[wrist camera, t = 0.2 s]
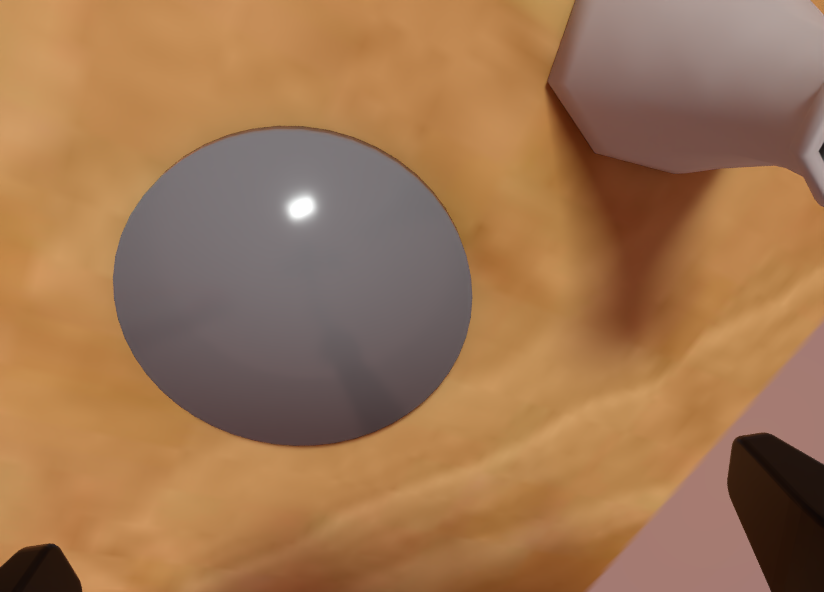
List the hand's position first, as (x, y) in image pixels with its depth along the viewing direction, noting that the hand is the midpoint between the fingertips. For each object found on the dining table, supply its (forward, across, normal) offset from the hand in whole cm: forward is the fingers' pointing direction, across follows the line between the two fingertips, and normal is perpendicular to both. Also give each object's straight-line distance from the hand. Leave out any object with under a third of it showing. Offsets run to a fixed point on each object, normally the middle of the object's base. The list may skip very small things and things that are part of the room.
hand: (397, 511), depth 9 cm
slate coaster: (+14, +3, +4) cm, 15 cm away
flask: (+15, -9, -2) cm, 18 cm away
